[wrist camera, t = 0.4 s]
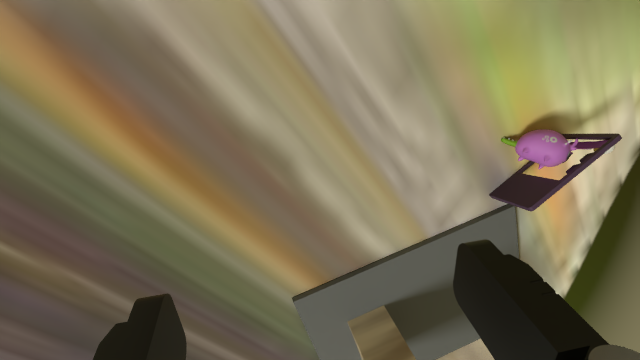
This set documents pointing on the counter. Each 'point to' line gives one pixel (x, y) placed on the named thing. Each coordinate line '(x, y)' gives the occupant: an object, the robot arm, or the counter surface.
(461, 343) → the rubber mat
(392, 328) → the beech block
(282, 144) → the counter surface
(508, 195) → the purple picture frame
